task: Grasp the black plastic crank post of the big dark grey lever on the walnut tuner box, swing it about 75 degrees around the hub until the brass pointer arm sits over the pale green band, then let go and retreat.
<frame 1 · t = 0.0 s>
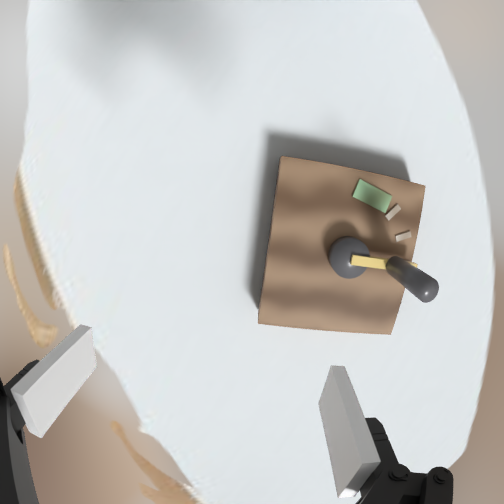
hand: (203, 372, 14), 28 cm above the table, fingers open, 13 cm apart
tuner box: (338, 248, 41), on the table
dark grey lever: (387, 271, 31), point 10 cm above the table, hinge at 0.0°
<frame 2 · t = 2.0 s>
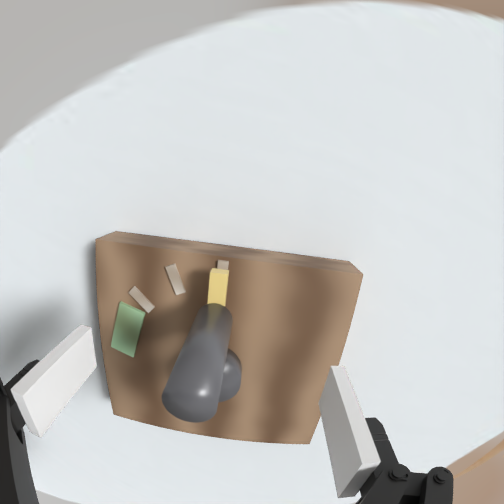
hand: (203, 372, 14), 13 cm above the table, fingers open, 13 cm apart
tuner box: (219, 343, 29), on the table
dark grey lever: (205, 374, 18), point 10 cm above the table, hinge at 0.0°
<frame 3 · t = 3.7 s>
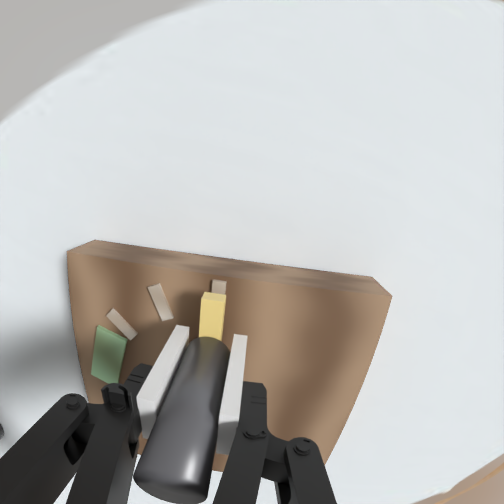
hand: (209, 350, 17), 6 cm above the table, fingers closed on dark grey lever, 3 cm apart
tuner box: (216, 370, 24), on the table
dark grey lever: (196, 425, 13), point 10 cm above the table, hinge at 0.0°, touching gripper
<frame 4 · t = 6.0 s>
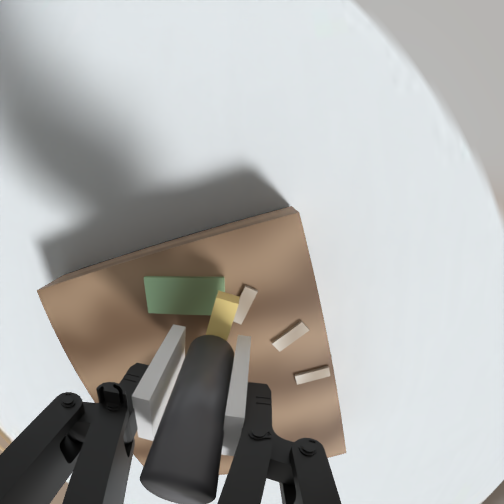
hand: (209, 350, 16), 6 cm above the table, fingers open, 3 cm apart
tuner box: (205, 366, 24), on the table
dark grey lever: (192, 423, 13), point 10 cm above the table, hinge at 57.2°, touching gripper
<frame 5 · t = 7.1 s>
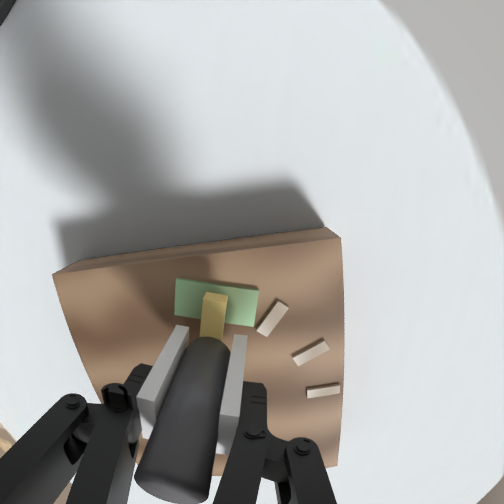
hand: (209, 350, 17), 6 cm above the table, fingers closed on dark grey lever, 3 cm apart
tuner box: (215, 370, 24), on the table
dark grey lever: (195, 425, 13), point 10 cm above the table, hinge at 73.7°, touching gripper
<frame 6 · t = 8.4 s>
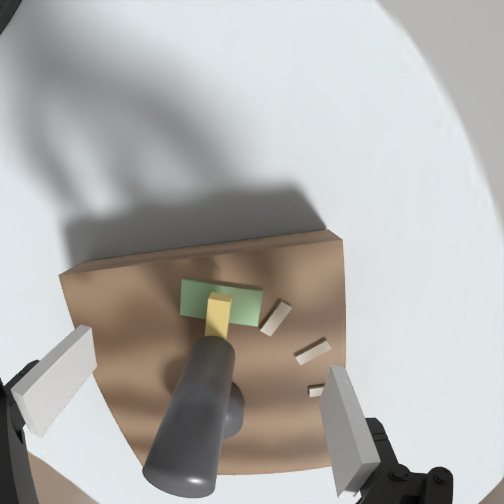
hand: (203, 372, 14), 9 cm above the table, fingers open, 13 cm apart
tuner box: (218, 370, 24), on the table
dark grey lever: (200, 422, 14), point 10 cm above the table, hinge at 73.8°
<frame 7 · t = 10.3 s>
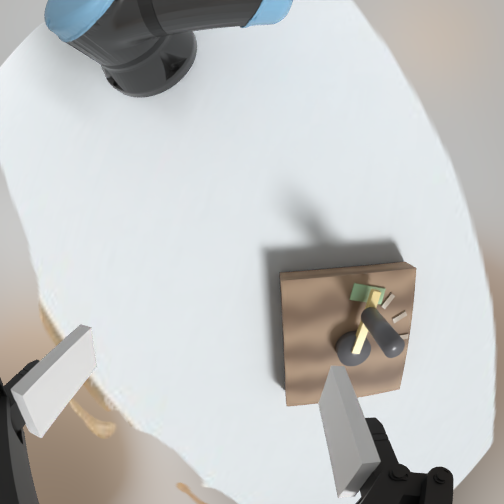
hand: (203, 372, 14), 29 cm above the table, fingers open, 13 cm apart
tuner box: (344, 332, 45), on the table
dark grey lever: (371, 343, 34), point 10 cm above the table, hinge at 73.8°
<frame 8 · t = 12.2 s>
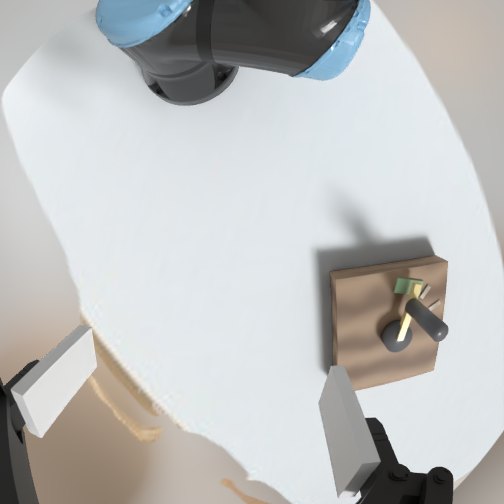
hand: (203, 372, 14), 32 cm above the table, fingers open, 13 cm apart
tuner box: (385, 322, 48), on the table
dark grey lever: (416, 330, 37), point 10 cm above the table, hinge at 73.8°
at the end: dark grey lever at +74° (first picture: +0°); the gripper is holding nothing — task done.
